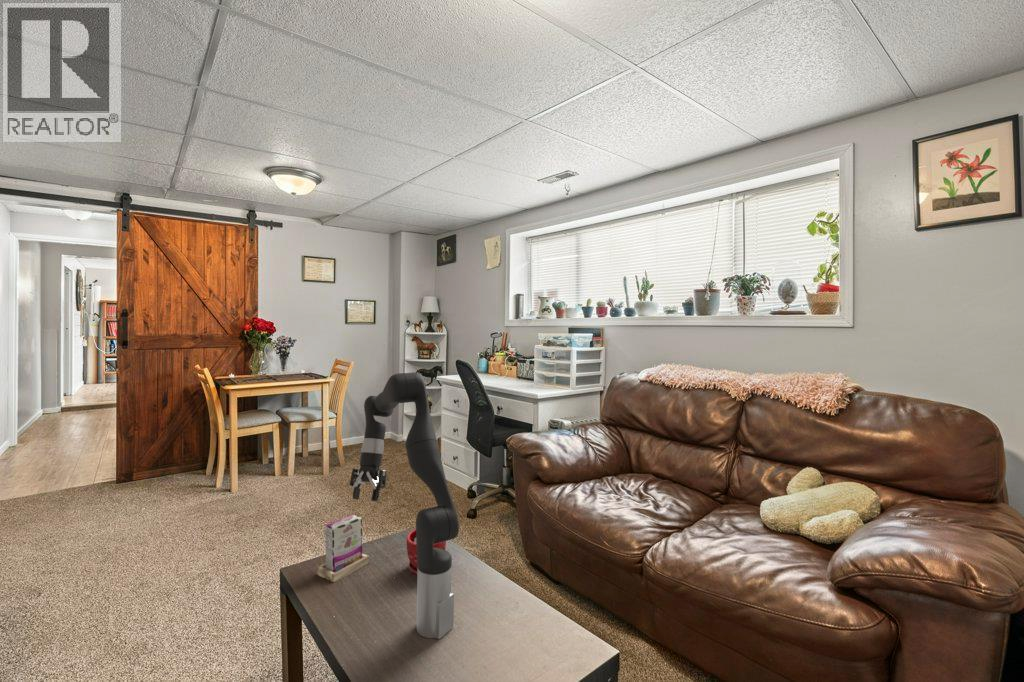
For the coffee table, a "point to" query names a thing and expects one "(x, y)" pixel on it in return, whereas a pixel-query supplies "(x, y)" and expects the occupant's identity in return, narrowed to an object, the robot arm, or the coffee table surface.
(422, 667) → the coffee table surface
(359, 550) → the candy bar box
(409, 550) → the plant pot
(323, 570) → the birch collar
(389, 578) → the coffee table surface
